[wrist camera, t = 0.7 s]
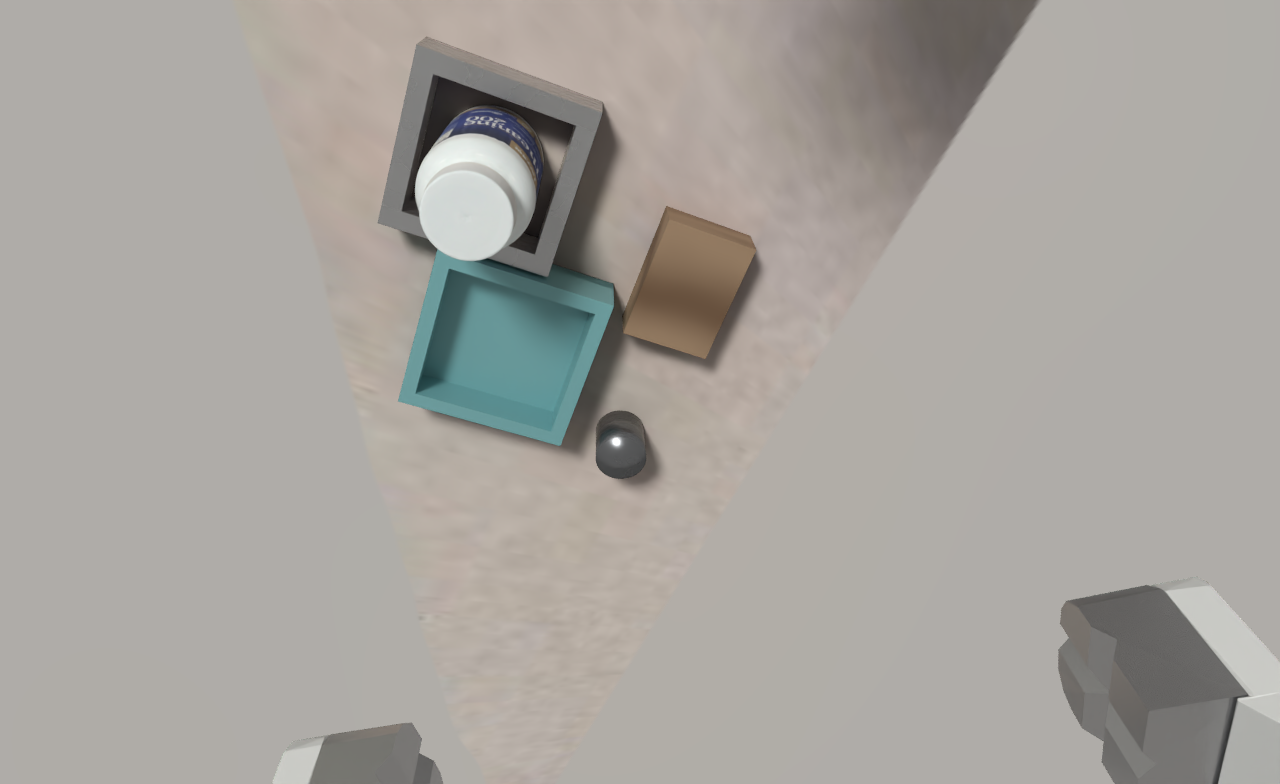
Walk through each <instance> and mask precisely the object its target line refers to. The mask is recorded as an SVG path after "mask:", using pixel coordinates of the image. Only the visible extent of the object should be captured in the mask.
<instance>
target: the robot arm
mask: <svg viewBox="0 0 1280 784" xmlns="http://www.w3.org/2000/svg"><path fill="white" fill-rule="evenodd" d="M1060 624H1061V626H1062V627H1063V629H1064V630H1065V632H1066V634H1067V635H1068V637H1069V638H1068V640H1067V641H1066V642H1065V643H1064V644H1063V645H1062V646H1061V647H1060V649H1059V657H1058V658H1059V659H1058V661H1059V662H1058V669H1059V674H1060V678H1061V682H1062V686H1063V690H1064V693H1065V695H1066V698H1067V700H1068V702H1069V705H1070V707H1071V709H1072V711H1073V713H1074V715H1075V716H1076V718H1077V720H1078V722H1079V724H1080V725H1081V727H1082V728H1083V729H1084V730H1086V731H1088V732H1089V733H1091V734H1093V735H1094V736H1096V737H1097V738H1099V739H1101V740H1102V741H1104V744H1103V755H1102V763H1103V765H1104V766H1105V768H1106V770H1107V771H1108V773H1109V775H1110V776H1111V778H1112V780H1113V782H1114V783H1115V784H1280V661H1279V660H1278V659H1277V658H1276V657H1275V656H1274V655H1273V653H1272V652H1271V651H1270V650H1269V649H1268V648H1267V647H1266V646H1265V645H1264V644H1263V642H1262V641H1261V640H1260V639H1259V638H1258V637H1257V636H1256V635H1255V634H1254V633H1253V631H1252V630H1251V629H1250V628H1249V627H1248V626H1247V625H1246V624H1245V623H1244V621H1243V620H1242V619H1240V617H1239V616H1238V615H1237V614H1236V613H1235V612H1234V610H1233V609H1232V608H1231V607H1230V606H1229V605H1228V604H1227V603H1226V602H1225V601H1224V600H1223V599H1222V597H1221V596H1220V595H1219V594H1218V593H1217V592H1216V591H1215V590H1214V589H1213V588H1212V586H1211V585H1210V584H1209V583H1208V582H1206V581H1204V580H1202V579H1201V578H1199V577H1193V578H1188V579H1183V580H1177V581H1171V582H1166V583H1160V584H1155V585H1152V586H1148V585H1145V586H1140V587H1135V588H1130V589H1125V590H1120V591H1115V592H1110V593H1105V594H1099V595H1094V596H1090V597H1085V598H1079V599H1074V600H1070V601H1066V602H1065V604H1064V605H1063V607H1062V609H1061V620H1060ZM421 741H422V738H421V737H420V735H419V734H418V732H417V730H416V729H415V727H414V725H413V724H412V723H403V724H396V725H390V726H383V727H377V728H371V729H364V730H357V731H351V732H344V733H338V734H331V735H327V736H321V737H315V738H309V739H303V740H297V741H293V742H292V743H291V744H290V746H289V747H288V748H287V749H286V750H285V751H284V753H283V755H282V757H281V760H280V763H279V765H278V768H277V771H276V773H275V776H274V778H273V781H272V784H443V781H442V777H441V774H440V772H439V770H438V768H437V766H436V764H435V762H434V761H433V760H431V759H429V758H427V757H425V756H423V755H422V754H420V753H419V750H420V745H421Z"/></svg>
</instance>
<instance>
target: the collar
mask: <svg viewBox="0 0 1280 784" xmlns="http://www.w3.org/2000/svg"><path fill="white" fill-rule="evenodd" d="M439 76H440V77H443V78H446V79H449V80H451V81H454V82H457V83H460V84H462V85H465V86H468V87H471V88H474V89H476V90H479V91H482V92H485V93H487V94H490V95H493V96H496V97H498V98H501V99H504V100H507V101H509V102H512V103H515V104H518V105H520V106H523V107H526V108H529V109H532V110H534V111H537V112H540V113H543V114H545V115H548V116H551V117H554V118H556V119H559V120H562V121H565V122H567V123H570V124H573V125H574V127H573V130H572V133H571V136H570V139H569V143H568V146H567V149H566V152H565V155H564V158H563V161H562V164H561V168H560V171H559V174H558V177H557V180H556V183H555V186H554V189H553V193H552V196H551V199H550V202H549V205H548V208H547V211H546V214H545V218H544V221H543V224H542V227H541V230H540V233H539V236H538V238H537V237H534V236H531V235H527V234H524V233H523V234H522V235H521V236H520V237H519V238H518V239H517V240H516V241H514V242H513V243H511V244H510V245H508V246H507V247H505V248H502V249H501V250H500V251H499V252H497V253H496V254H495V255H493V256H491V257H489V259H492V260H495V261H498V262H501V263H504V264H508V265H511V266H514V267H517V268H520V269H523V270H526V271H529V272H533V273H536V274H539V275H542V276H545V277H548V275H549V272H550V269H551V266H552V263H553V260H554V257H555V254H556V251H557V248H558V245H559V242H560V239H561V236H562V233H563V230H564V227H565V224H566V221H567V218H568V215H569V212H570V209H571V206H572V203H573V200H574V197H575V194H576V191H577V188H578V185H579V182H580V179H581V176H582V173H583V170H584V167H585V164H586V161H587V158H588V155H589V152H590V149H591V146H592V143H593V140H594V137H595V134H596V131H597V128H598V125H599V122H600V119H601V116H602V113H603V106H602V102H601V101H598V100H596V99H593V98H590V97H588V96H585V95H582V94H580V93H577V92H574V91H571V90H569V89H566V88H563V87H561V86H558V85H555V84H553V83H550V82H547V81H544V80H542V79H539V78H536V77H534V76H531V75H528V74H526V73H523V72H520V71H518V70H515V69H512V68H509V67H507V66H504V65H501V64H499V63H496V62H493V61H491V60H488V59H485V58H482V57H480V56H477V55H474V54H472V53H469V52H466V51H464V50H461V49H458V48H455V47H453V46H450V45H447V44H445V43H442V42H439V41H437V40H434V39H431V38H429V37H425V38H424V39H423V40H422V41H420V42H419V43H418V44H417V45H416V49H415V54H414V59H413V63H412V68H411V72H410V77H409V82H408V86H407V91H406V95H405V100H404V105H403V109H402V114H401V118H400V123H399V128H398V132H397V137H396V141H395V146H394V151H393V155H392V160H391V164H390V169H389V173H388V178H387V183H386V187H385V192H384V196H383V201H382V206H381V210H380V215H379V219H378V223H379V224H382V225H385V226H389V227H392V228H395V229H398V230H401V231H404V232H407V233H411V234H414V235H417V236H420V237H423V238H426V239H428V238H427V236H426V235H425V233H424V231H423V228H422V226H421V223H420V216H419V210H418V207H417V203H416V198H415V197H412V196H411V195H412V191H413V186H414V182H415V178H416V174H417V169H418V165H419V161H420V156H421V152H422V148H423V144H424V139H425V135H426V131H427V127H428V122H429V118H430V114H431V110H432V105H433V101H434V97H435V93H436V88H437V84H438V80H439Z"/></svg>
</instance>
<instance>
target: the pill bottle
mask: <svg viewBox="0 0 1280 784" xmlns="http://www.w3.org/2000/svg"><path fill="white" fill-rule="evenodd" d="M543 164H544V159H543V151H542V147H541V143H540V141H539V139H538V136H537V135H536V133H535V131H534V130H533V128H532V127H531V126H530V125H529V124H528V123H527V122H526V121H525V120H524V119H523V118H522V117H521V116H519V115H518V114H516V113H515V112H513V111H511V110H508V109H506V108H502V107H498V106H493V105H482V106H476V107H473V108H470V109H468V110H466V111H464V112H462V113H460V114H459V115H458V116H456V117H455V118H454V119H453V120H452V121H451V122H450V123H449V125H448V126H447V127H446V129H445V130H444V131H443V133H442V134H441V136H440V137H439V138H438V140H437V141H436V142H435V144H434V145H433V147H432V148H431V150H430V151H429V152H428V154H427V155H426V156H425V158H424V159H423V161H422V163H421V166H420V168H419V170H418V173H417V177H416V183H415V198H416V203H417V207H418V210H419V216H420V223H421V226H422V228H423V231H424V233H425V235H426V236H427V238H428V239H429V241H430V242H431V243H432V244H433V245H434V246H435V247H436V248H437V249H438V250H440V251H441V252H442V253H444V254H446V255H448V256H450V257H452V258H455V259H458V260H463V261H479V260H483V259H486V258H489V257H491V256H493V255H495V254H496V253H497V252H499V251H500V250H501V249H502V248H505V247H507V246H508V245H510V244H511V243H513V242H514V241H516V240H517V239H518V238H519V237H520V236H521V235H522V234H523V232H524V231H525V230H526V228H527V227H528V225H529V223H530V221H531V219H532V216H533V213H534V211H535V205H536V200H537V195H538V191H539V186H540V182H541V178H542V173H543Z"/></svg>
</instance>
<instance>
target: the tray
mask: <svg viewBox="0 0 1280 784" xmlns="http://www.w3.org/2000/svg"><path fill="white" fill-rule="evenodd" d="M613 307H614V290H613V283H609V282H606V281H603V280H600V279H597V278H594V277H591V276H588V275H585V274H582V273H578V272H575V271H572V270H569V269H566V268H563V267H560V266H557V265H554V264H552V266H551V269H550V272H549V275H548V277H545V276H542V275H539V274H536V273H533V272H529V271H526V270H523V269H520V268H517V267H514V266H511V265H508V264H504V263H501V262H498V261H495V260H492V259H489V258H486V259H483V260H479V261H463V260H458V259H455V258H452V257H450V256H448V255H446V254H444V253H442V252H441V251H440V250H438V249H437V253H436V257H435V261H434V265H433V268H432V272H431V276H430V280H429V284H428V288H427V292H426V295H425V299H424V303H423V307H422V311H421V315H420V319H419V322H418V326H417V330H416V334H415V338H414V342H413V346H412V350H411V353H410V357H409V361H408V365H407V369H406V373H405V377H404V380H403V384H402V388H401V392H400V396H399V400H398V401H399V402H402V403H406V404H410V405H413V406H417V407H421V408H424V409H428V410H431V411H435V412H439V413H442V414H446V415H450V416H453V417H457V418H460V419H464V420H468V421H471V422H475V423H478V424H482V425H486V426H489V427H493V428H497V429H500V430H504V431H507V432H511V433H515V434H518V435H522V436H526V437H529V438H533V439H536V440H540V441H544V442H547V443H551V444H555V445H558V446H560V445H561V443H562V440H563V438H564V435H565V432H566V430H567V427H568V425H569V422H570V419H571V417H572V414H573V412H574V409H575V406H576V404H577V401H578V399H579V396H580V393H581V391H582V388H583V386H584V383H585V380H586V378H587V375H588V372H589V370H590V367H591V365H592V362H593V359H594V357H595V354H596V352H597V349H598V346H599V344H600V341H601V339H602V336H603V333H604V331H605V328H606V326H607V323H608V320H609V318H610V315H611V312H612V310H613Z"/></svg>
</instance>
